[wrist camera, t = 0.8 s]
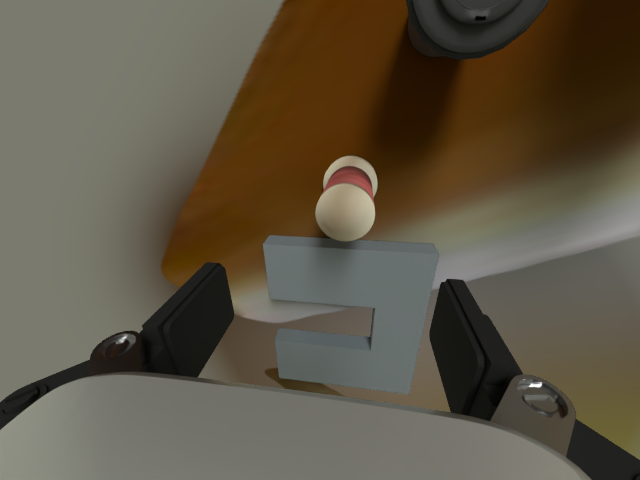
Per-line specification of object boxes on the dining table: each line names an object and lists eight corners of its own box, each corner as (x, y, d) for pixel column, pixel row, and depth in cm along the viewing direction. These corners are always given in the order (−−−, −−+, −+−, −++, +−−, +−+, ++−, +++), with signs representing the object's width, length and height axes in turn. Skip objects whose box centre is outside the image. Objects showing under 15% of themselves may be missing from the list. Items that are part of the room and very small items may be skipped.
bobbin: (379, 155, 28) (386, 178, 19) (374, 208, 30) (379, 249, 21) (324, 155, 28) (306, 176, 20) (324, 206, 31) (309, 245, 22)
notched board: (433, 243, 31) (438, 254, 29) (406, 379, 42) (408, 394, 40) (269, 235, 34) (262, 244, 32) (283, 364, 44) (279, 377, 42)
